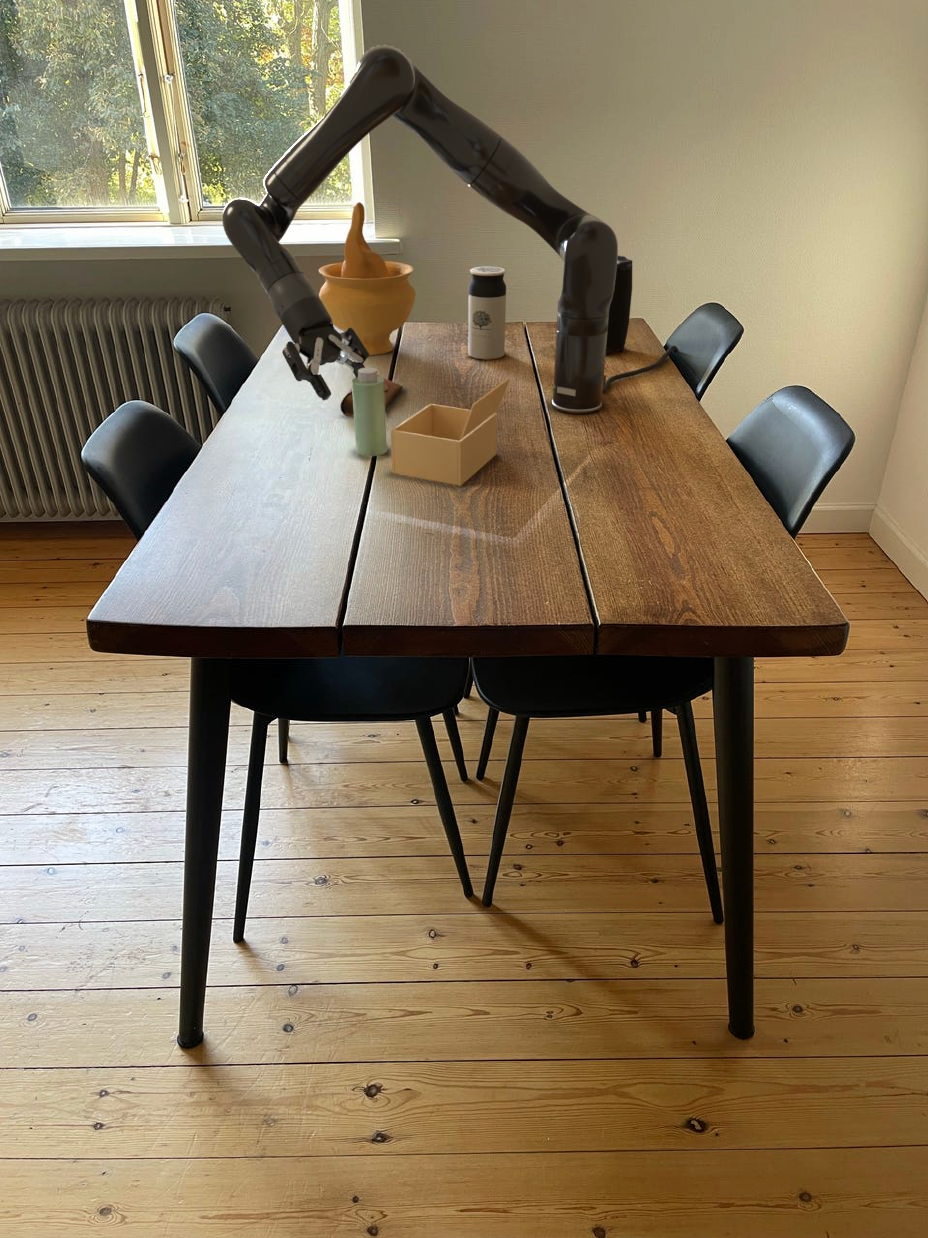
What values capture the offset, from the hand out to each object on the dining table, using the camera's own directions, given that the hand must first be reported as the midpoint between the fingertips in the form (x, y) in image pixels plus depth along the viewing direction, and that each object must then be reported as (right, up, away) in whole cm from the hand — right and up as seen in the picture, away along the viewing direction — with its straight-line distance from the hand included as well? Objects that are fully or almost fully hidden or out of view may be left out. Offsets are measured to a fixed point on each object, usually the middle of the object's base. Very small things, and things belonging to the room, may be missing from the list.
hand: (348, 391), depth 153 cm
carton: (+16, -13, -3) cm, 21 cm away
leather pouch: (+2, +4, +24) cm, 24 cm away
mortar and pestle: (-2, +23, +55) cm, 60 cm away
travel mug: (+24, +20, +51) cm, 60 cm away
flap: (+22, -5, -11) cm, 26 cm away
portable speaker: (+51, +23, +55) cm, 78 cm away
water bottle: (+4, -10, +2) cm, 11 cm away
